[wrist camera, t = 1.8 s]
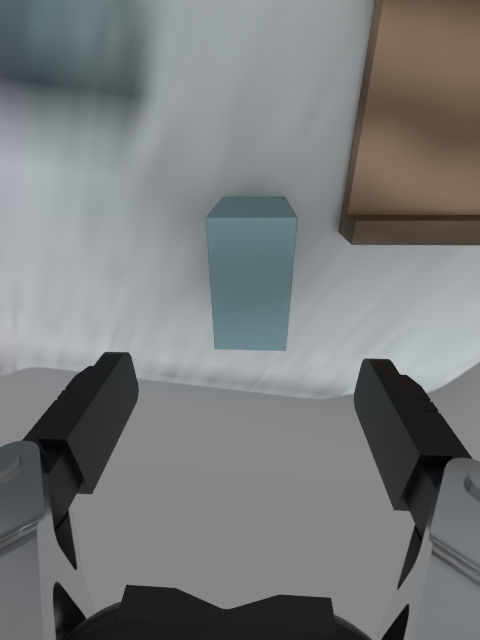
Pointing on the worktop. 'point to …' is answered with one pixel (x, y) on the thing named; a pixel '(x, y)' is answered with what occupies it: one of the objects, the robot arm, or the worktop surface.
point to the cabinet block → (251, 271)
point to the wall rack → (417, 128)
